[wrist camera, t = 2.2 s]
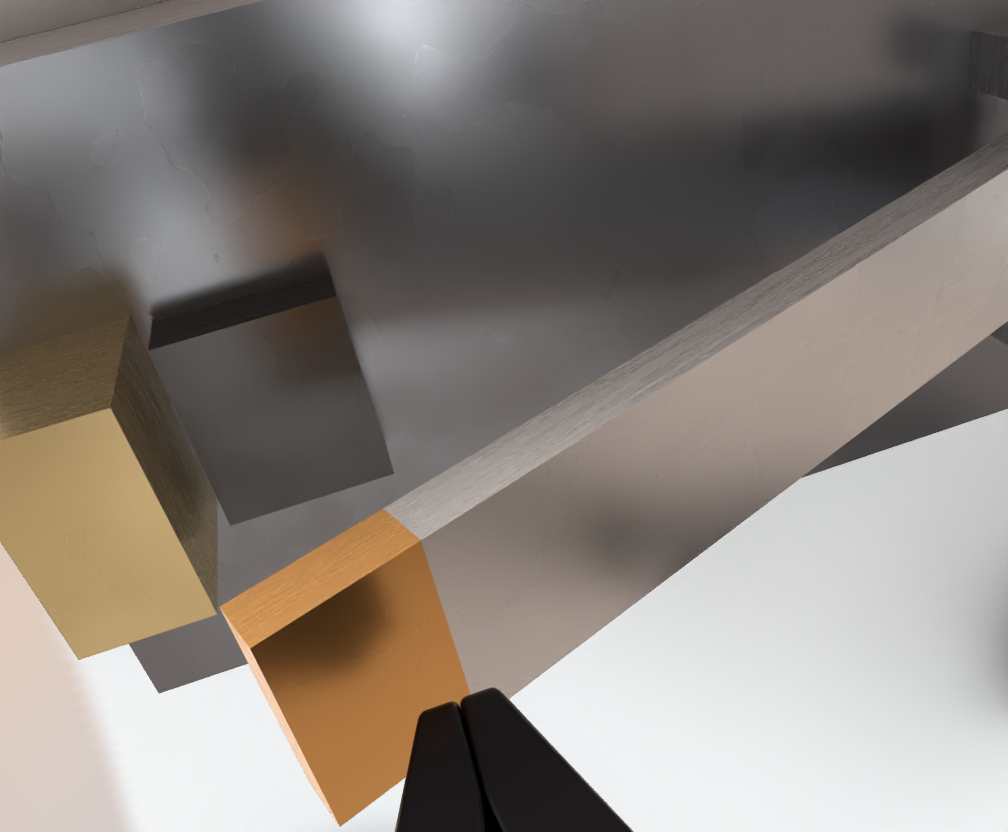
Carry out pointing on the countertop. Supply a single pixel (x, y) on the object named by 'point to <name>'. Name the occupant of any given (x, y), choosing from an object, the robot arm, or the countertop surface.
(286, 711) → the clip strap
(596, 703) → the countertop surface
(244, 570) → the grey lever base
